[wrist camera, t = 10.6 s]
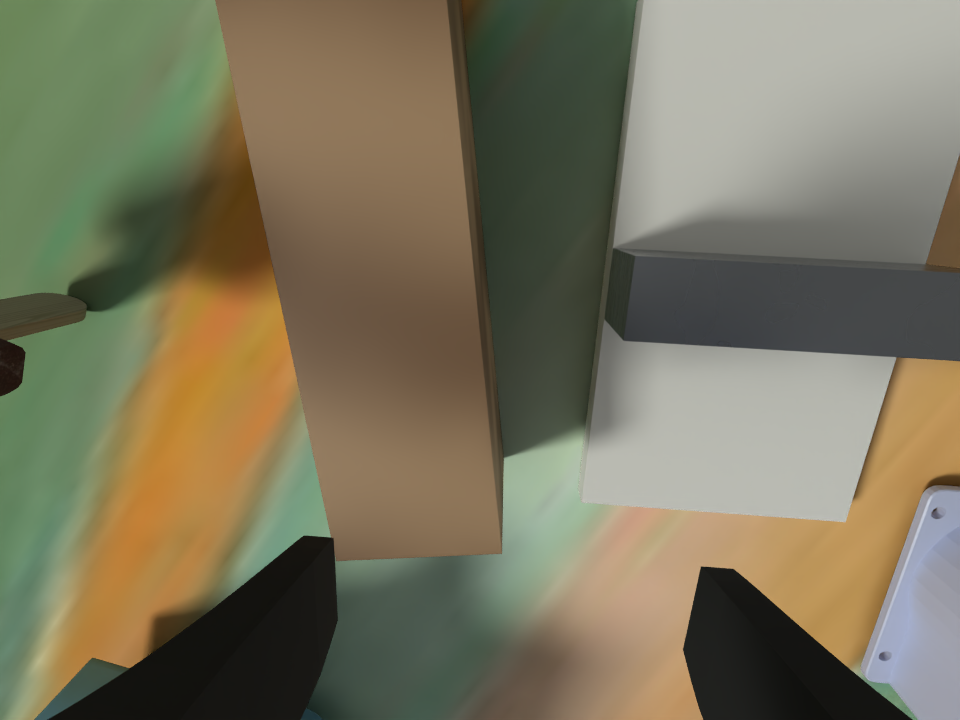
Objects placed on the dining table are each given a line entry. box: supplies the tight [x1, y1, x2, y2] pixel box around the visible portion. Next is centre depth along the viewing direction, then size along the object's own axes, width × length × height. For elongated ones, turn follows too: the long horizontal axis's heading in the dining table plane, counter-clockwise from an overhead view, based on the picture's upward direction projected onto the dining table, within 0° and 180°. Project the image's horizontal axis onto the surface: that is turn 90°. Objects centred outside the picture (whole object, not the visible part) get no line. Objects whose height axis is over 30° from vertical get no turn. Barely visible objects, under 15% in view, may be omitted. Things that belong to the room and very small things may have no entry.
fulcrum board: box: [578, 0, 960, 522], centre depth 15 cm, size 17×10×4 cm, turn 177°
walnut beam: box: [215, 0, 504, 561], centre depth 15 cm, size 16×5×6 cm, turn 6°
